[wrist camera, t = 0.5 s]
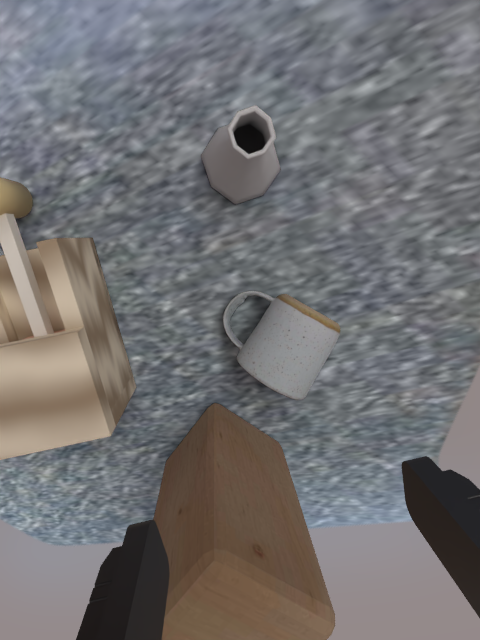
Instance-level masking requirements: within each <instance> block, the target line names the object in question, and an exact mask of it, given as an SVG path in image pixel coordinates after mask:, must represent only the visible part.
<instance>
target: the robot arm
mask: <svg viewBox="0 0 480 640" xmlns="http://www.w3.org/2000/svg"><path fill="white" fill-rule="evenodd" d="M402 473H403V483H404V492H405V501H406V505H407V508H408V511H409V513H410V516H411V518H412V520H413V521H414V523H415V525H416V526H417V527H418V529H419V530H420V532H421V533H422V535H423V536H424V538H425V539H426V541H427V542H428V543H429V545H430V546H431V548H432V549H433V551H434V552H435V554H436V555H437V557H438V558H439V559H440V561H441V562H442V564H443V565H444V567H445V568H446V570H447V571H448V572H449V574H450V576H451V577H452V578H453V580H454V581H455V583H456V584H457V585H458V587H459V589H460V590H461V591H462V593H463V594H464V596H465V597H466V599H467V600H468V602H469V603H470V605H471V606H472V608H473V609H474V610H475V612H476V613H477V615H478V616H479V618H480V490H479V489H478V488H477V487H476V486H475V485H474V484H473V483H472V482H471V481H470V480H469V479H467V478H465V477H464V476H462V475H460V474H458V473H456V472H454V471H452V470H447V471H442V470H441V469H440V468H439V467H438V466H437V465H436V464H435V463H434V462H433V461H432V460H431V459H430V458H429V457H427V456H425V457H421V458H416V459H412V460H408V461H404V462H403V463H402ZM169 576H170V572H169V561H168V557H167V553H166V550H165V548H164V545H163V542H162V539H161V536H160V533H159V530H158V527H157V524H156V522H155V521H154V520H149V521H145V522H141V523H136V524H132V525H129V527H128V528H127V531H126V535H125V538H124V542H123V545H122V546H120V547H116V548H113V549H112V551H111V552H110V554H109V555H108V556H107V558H106V559H105V561H104V562H103V564H102V565H101V567H100V570H99V573H98V576H97V579H96V582H95V588H93V591H92V594H91V597H90V603H89V604H88V606H87V609H86V612H85V615H84V618H83V621H82V624H81V627H80V630H79V632H78V636H77V638H76V640H162V633H163V625H164V617H165V610H166V602H167V594H168V586H169Z"/></svg>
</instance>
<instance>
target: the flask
mask: <svg viewBox="0 0 480 640" xmlns="http://www.w3.org/2000/svg"><path fill="white" fill-rule="evenodd" d="M275 139H276V135H275V131H274V128H273V124H272V120H271V117H269V116H268V115H267V114H266V113H265V112H263V111H262V110H261V109H260V108H258V107H257V106H256V105H255V106H252V107H249V108H246V109H243V110H240V111H237V113H236V115H235V116H234V118H233V119H232V121H231V123H230V124H229V125H226V126H223V127H220V128H218V129H217V131H216V132H215V134H214V135H213V137H212V139H211V140H210V142H209V143H208V145H207V146H206V148H205V150H204V151H203V153H202V154H201V158H202V161H203V164H204V167H205V170H206V173H207V176H208V179H209V182H210V185H211V187H212V188H214V189H215V190H216V191H218V192H219V193H220V194H222V195H223V196H224V197H226V198H227V199H229V200H230V201H231V202H233V203H234V204H235V205H236V204H239V203H242V202H245V201H248V200H251V199H254V198H257V197H260V196H263V195H264V194H265V192H266V191H267V189H268V188H269V186H270V185H271V183H272V182H273V180H274V179H275V177H276V176H277V174H278V173H279V172H280V170H281V168H280V164H279V161H278V157H277V153H276V150H275V146H274V143H273V142H274V140H275Z"/></svg>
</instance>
